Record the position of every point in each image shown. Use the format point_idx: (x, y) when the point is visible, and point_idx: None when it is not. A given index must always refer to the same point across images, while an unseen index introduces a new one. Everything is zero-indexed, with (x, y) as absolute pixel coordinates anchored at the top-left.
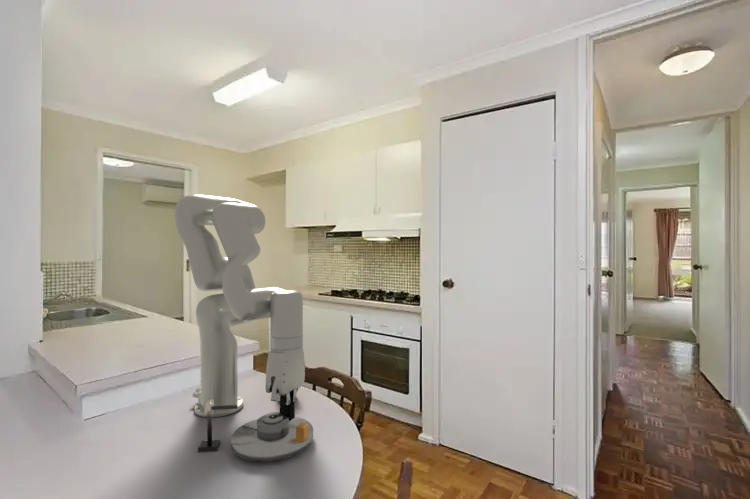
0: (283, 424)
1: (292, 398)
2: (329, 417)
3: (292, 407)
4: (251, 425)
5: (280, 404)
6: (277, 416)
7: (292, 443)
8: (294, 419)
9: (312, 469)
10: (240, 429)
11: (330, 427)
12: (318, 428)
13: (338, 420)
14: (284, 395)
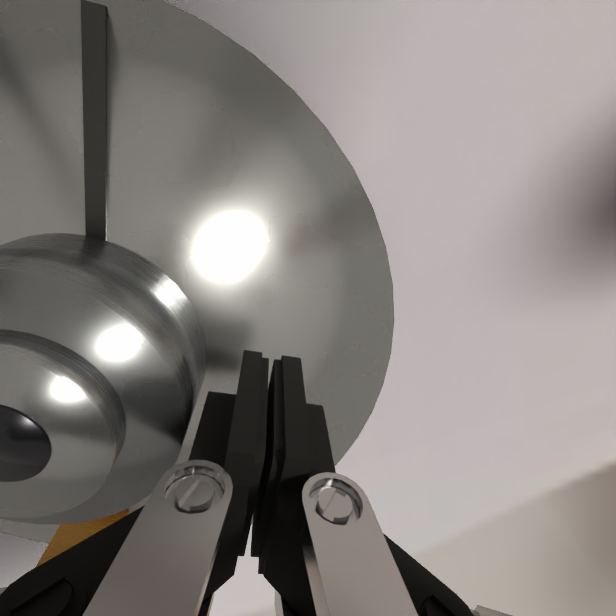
0: (4, 518)
1: (278, 603)
2: (497, 460)
3: (253, 522)
4: (138, 94)
5: (228, 442)
6: (24, 478)
7: None
8: (336, 393)
9: (14, 551)
10: (14, 14)
11: (387, 497)
12: (368, 455)
13: (464, 504)
14: (310, 532)
